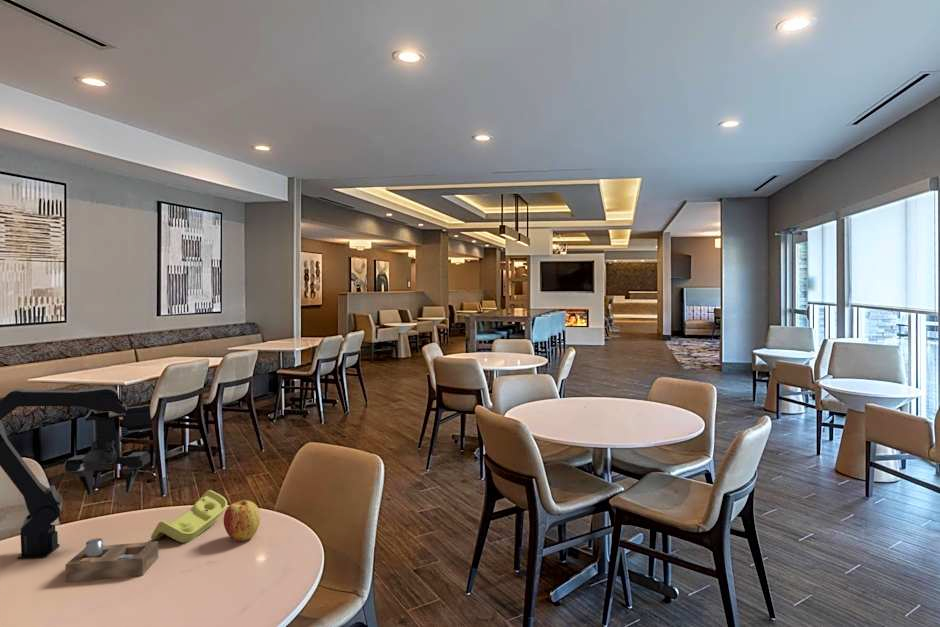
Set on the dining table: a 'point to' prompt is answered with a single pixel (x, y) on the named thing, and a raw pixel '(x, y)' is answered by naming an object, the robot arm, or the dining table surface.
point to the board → (113, 562)
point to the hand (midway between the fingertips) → (109, 493)
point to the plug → (94, 548)
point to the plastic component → (193, 519)
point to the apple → (242, 520)
